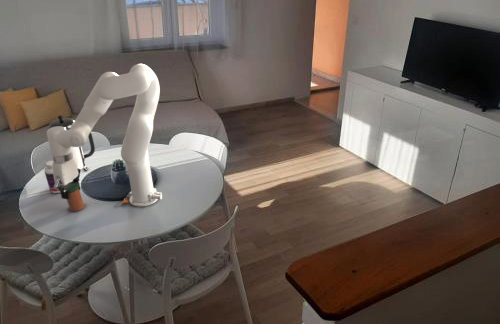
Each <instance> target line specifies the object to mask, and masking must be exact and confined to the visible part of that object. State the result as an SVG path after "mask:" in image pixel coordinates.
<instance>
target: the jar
mask: <svg viewBox="0 0 500 324" xmlns="http://www.w3.org/2000/svg"><path fill="white" fill-rule="evenodd" d="M68 195H69V199H65V200H66V203H67V205H68V208H69V211H71V212H77V211H80V210H82V209H83V208H84V207H85V203H84V200H83V196H82V194H81V191H80V190H79V189H78V190H76V191H75V192H72V193H68Z"/></svg>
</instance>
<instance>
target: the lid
mask: <svg viewBox="0 0 500 324" xmlns="http://www.w3.org/2000/svg"><path fill="white" fill-rule="evenodd" d="M78 182H79V181H78ZM78 182H72V181H71V182H69V183H68V184H67V186H66V190H67V191H68V193H72V192H75V191H76V190H78V189H79V185H80V183H79V184H78ZM63 186H64V185H63ZM63 186H62V188H63Z"/></svg>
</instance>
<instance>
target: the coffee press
mask: <svg viewBox="0 0 500 324" xmlns="http://www.w3.org/2000/svg"><path fill="white" fill-rule="evenodd" d="M74 121H75V120H74V119H73V118H69V117H64V116H63V115H62V114H59V115H58V116H57V119H54V120H53V121H51V122H50V123H49V126H48V129H50V128H52V127H57V126H61V127H65V128H66V130H69V129H70V128H71V126H72V125H73V123H74ZM87 139H88V143H89V146H90V150H89V152H88V153H86V154H84V152H83V148H82V147H83V146H81V147H71V150H72V155H73V157H74V159H75V162H76V165H77V168H78V169H81V170H83V171H84V172H88V170H89V167H88V166H87V165H86V159H87V158H90V157H91V156H93V155H94V153H95V151H96V147H95V142H94V137H93V134H92V131H91V132H90V134H89V136H88V138H87Z"/></svg>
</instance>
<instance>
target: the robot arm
mask: <svg viewBox="0 0 500 324" xmlns="http://www.w3.org/2000/svg"><path fill="white" fill-rule="evenodd" d="M160 87H161V86H160V82H159V79H158V76H157V74H156V73H155V71H153V70H152V68H151V67H149V66H148V65H146V64H143V63H137V64H134V65H133V66H132V67H131V68H130V70H129V72H127V73H123V74H117V73H116V72H113V71H106V72H104V73H102V75H100V76H99V78H98V80H97V82H96V83H95V85H94V86H93V88H92V89H91V91H90V93H89V95H88V96H87V98H86V99H85V101H84V102H83V107H82V108H81V110H80V112H79V113H78V114H77V116H76V118H75V120H74V123H73V125H72V126H71V128H70V129H69V130H66V128H65V127H61V126H57V127H52V128H50V129H49V128H48V129H47V130H46V137H47V141H48V145H49V149H50V153H51V157H52V160H53V164H52V168H53V176H54V181H55V185H54V188H55V189H57V190H59V191H60V193H59V194H60V196H61V199H62V200H66V199H69V195H68V191H67V190H66V186H67V184H68V183H69V182H78V184H79V191H80V190H81V186H80V185H81V184H80V176H81V175H80V174H81V170H82V169H78V168H77V165H76V162H75V159H74V157H73V155H72V150H71V147H83V146H85V144H86V143H87V141H88V139H89V138H88V136H89V134H90V132H91V133H92V130H93V129H94V127H95V125H96V124H97V123H98V121H99V120H100V118H101V117H102V116H104V115H105V114H106V113H107V111H108V110H109V108H110V106H111V105H112V103H113V102H114V100H119V99H124V98H128V97H132V96H136V99H135V103H134V107H133V109H132V113H131V115H130V118H129V119H128V124H127V127H126V132H125V136H124V137H123V141H122V144H121V149H120V157H121V160H122V161H123V162H124V163H125V164H126V170H127V176H128V180H129V185H130V192H131V191H132V196H131V197H130V199H128V201H129V203H130V205H131V206H134V207H137V208H138V207H139V208H141V207H148V206H152V205H154V203H156V202H157V201H158V200H160V201H161V200H162V199H163V193H162V192H158V191H157V188H155V187H154V182H153V177H152V170H151V164H150V163H151V162H150V157H149V145H150V143H151V139H152V135H153V131H154V120H155V115H156V112H157V108H158V104H159V100H160V94H161V88H160ZM62 185H64V186H63V188H62Z"/></svg>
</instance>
